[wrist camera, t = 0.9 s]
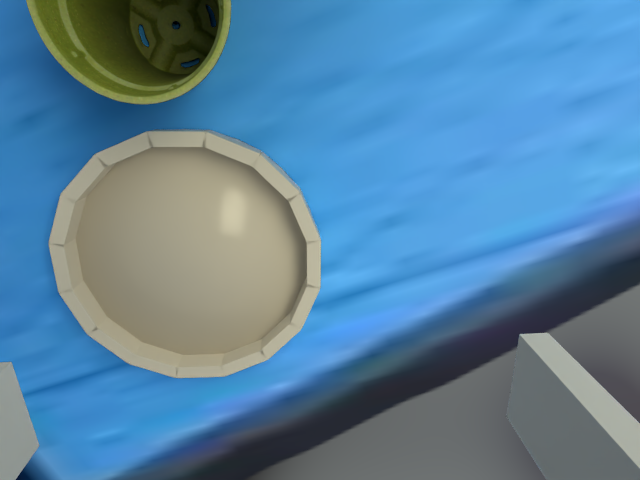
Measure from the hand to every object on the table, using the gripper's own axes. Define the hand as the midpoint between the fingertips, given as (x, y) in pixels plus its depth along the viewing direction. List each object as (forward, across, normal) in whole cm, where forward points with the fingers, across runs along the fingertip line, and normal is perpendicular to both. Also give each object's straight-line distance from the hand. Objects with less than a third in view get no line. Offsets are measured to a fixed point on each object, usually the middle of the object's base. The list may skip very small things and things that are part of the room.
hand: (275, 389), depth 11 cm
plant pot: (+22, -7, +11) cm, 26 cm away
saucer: (+22, -7, -5) cm, 23 cm away
